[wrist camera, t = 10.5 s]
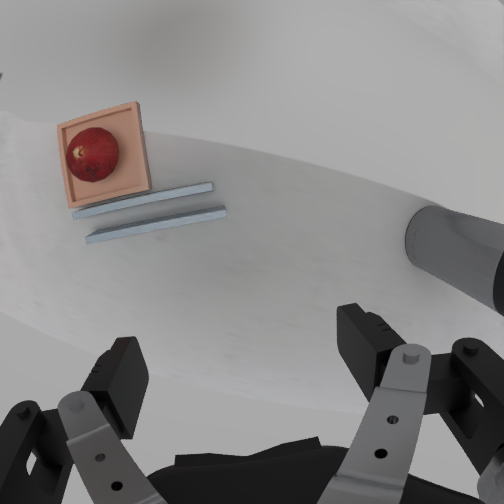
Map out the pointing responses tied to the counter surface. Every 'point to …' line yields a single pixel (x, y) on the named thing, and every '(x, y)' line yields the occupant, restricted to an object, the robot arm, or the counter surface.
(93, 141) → the pomegranate
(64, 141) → the terracotta dish
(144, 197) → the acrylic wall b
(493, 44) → the counter surface
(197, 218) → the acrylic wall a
